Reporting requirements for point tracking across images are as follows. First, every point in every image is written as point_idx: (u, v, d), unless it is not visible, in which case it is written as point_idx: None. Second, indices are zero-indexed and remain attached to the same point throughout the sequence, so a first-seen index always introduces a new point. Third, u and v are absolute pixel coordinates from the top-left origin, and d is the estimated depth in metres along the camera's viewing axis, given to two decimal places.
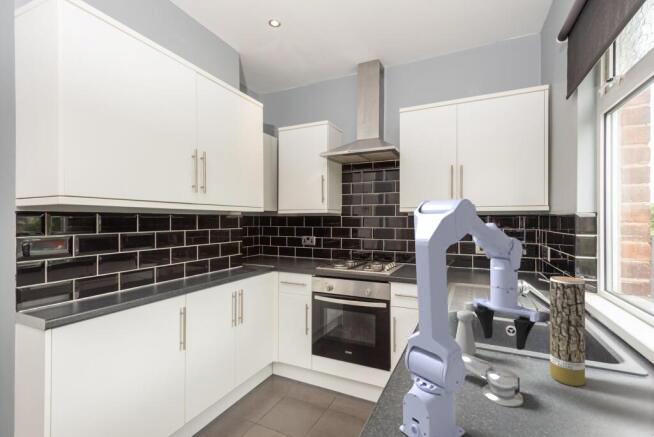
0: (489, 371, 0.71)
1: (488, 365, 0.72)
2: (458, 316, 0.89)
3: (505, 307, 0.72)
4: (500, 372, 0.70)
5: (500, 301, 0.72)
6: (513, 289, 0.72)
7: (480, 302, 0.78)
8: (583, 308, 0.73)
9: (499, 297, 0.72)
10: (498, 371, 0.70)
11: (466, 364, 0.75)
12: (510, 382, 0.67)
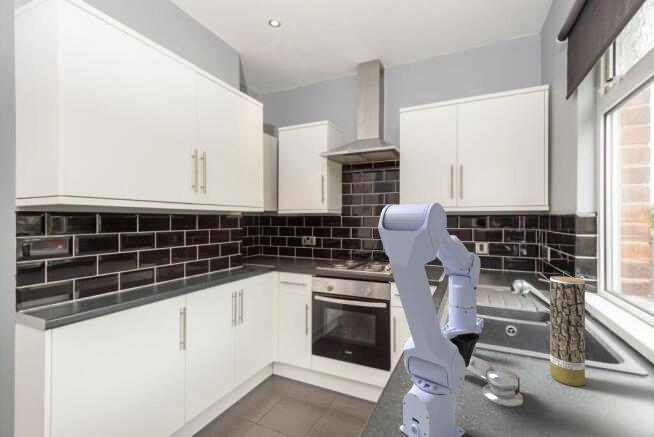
0: (489, 371, 0.71)
1: (488, 365, 0.72)
2: None
3: (448, 322, 0.70)
4: (500, 372, 0.70)
5: None
6: (451, 306, 0.68)
7: None
8: (583, 308, 0.73)
9: None
10: (498, 371, 0.70)
11: None
12: (510, 382, 0.67)
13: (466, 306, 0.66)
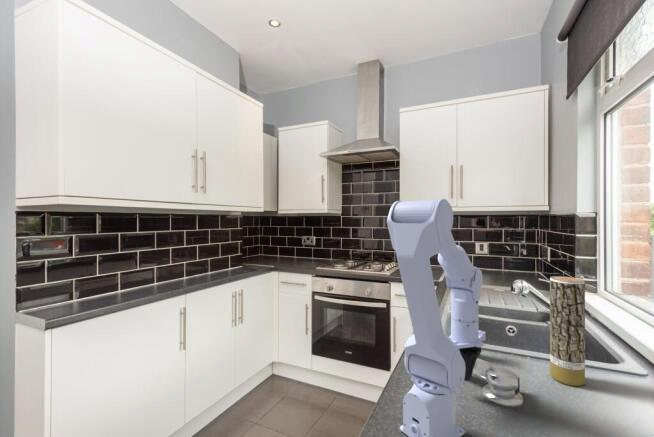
0: (489, 371, 0.71)
1: (488, 365, 0.72)
2: None
3: (450, 335, 0.71)
4: (500, 372, 0.70)
5: None
6: (454, 319, 0.69)
7: None
8: (583, 308, 0.73)
9: None
10: (498, 371, 0.70)
11: None
12: (510, 382, 0.67)
13: (468, 320, 0.67)
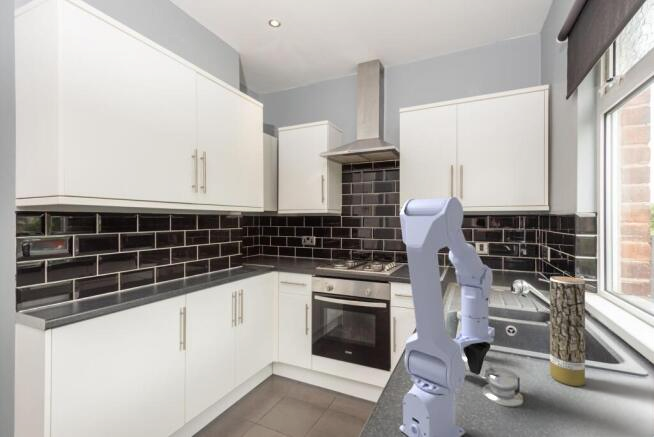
0: (489, 371, 0.71)
1: (488, 365, 0.72)
2: (458, 316, 0.89)
3: (461, 331, 0.73)
4: (500, 372, 0.70)
5: None
6: (464, 316, 0.71)
7: None
8: (583, 308, 0.73)
9: None
10: (498, 371, 0.70)
11: (466, 364, 0.75)
12: (510, 382, 0.67)
13: (478, 316, 0.69)
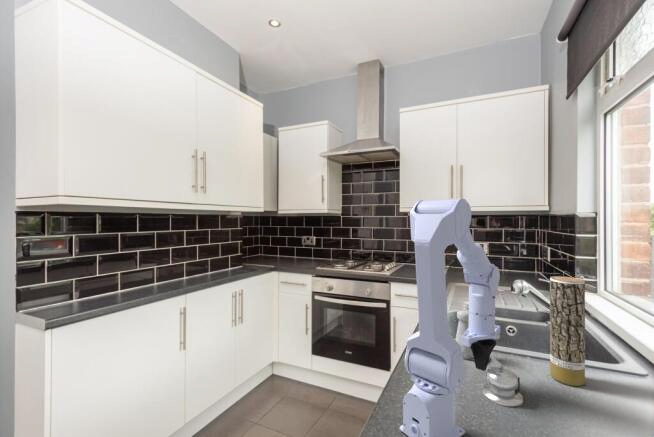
0: (491, 368, 0.72)
1: (495, 363, 0.73)
2: (458, 316, 0.89)
3: (468, 328, 0.75)
4: (501, 372, 0.70)
5: None
6: (472, 313, 0.74)
7: None
8: (583, 308, 0.73)
9: None
10: (500, 371, 0.71)
11: None
12: (500, 380, 0.67)
13: (485, 313, 0.72)
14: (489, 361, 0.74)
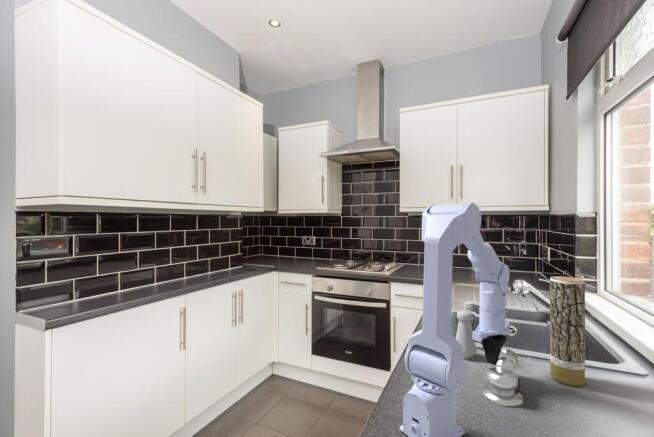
0: (496, 368, 0.72)
1: (503, 364, 0.72)
2: (458, 316, 0.89)
3: (479, 324, 0.78)
4: (503, 372, 0.70)
5: None
6: (483, 310, 0.76)
7: None
8: (583, 308, 0.73)
9: None
10: (503, 372, 0.70)
11: None
12: (492, 377, 0.68)
13: (495, 310, 0.74)
14: (499, 361, 0.73)
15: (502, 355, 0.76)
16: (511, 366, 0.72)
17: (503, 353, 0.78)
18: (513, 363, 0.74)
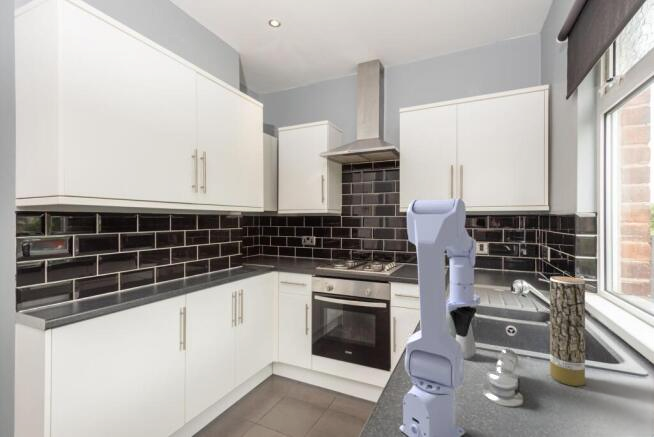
0: (496, 368, 0.72)
1: (503, 364, 0.72)
2: None
3: (449, 298, 0.81)
4: (503, 372, 0.70)
5: None
6: (452, 283, 0.79)
7: None
8: (583, 308, 0.73)
9: None
10: (503, 372, 0.70)
11: None
12: (492, 377, 0.68)
13: (466, 283, 0.77)
14: (499, 361, 0.73)
15: (502, 355, 0.76)
16: (511, 366, 0.72)
17: (503, 353, 0.78)
18: (513, 363, 0.74)
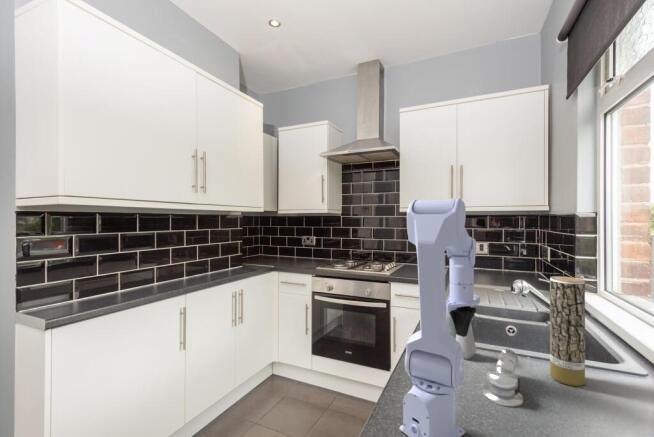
0: (496, 368, 0.72)
1: (503, 364, 0.72)
2: None
3: (449, 298, 0.81)
4: (503, 372, 0.70)
5: None
6: (452, 283, 0.79)
7: None
8: (583, 308, 0.73)
9: None
10: (503, 372, 0.70)
11: None
12: (492, 377, 0.68)
13: (466, 283, 0.77)
14: (499, 361, 0.73)
15: (502, 355, 0.76)
16: (511, 366, 0.72)
17: (503, 353, 0.78)
18: (513, 363, 0.74)
